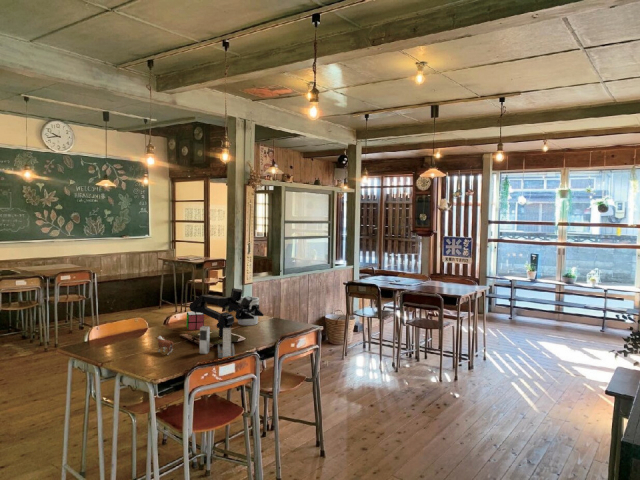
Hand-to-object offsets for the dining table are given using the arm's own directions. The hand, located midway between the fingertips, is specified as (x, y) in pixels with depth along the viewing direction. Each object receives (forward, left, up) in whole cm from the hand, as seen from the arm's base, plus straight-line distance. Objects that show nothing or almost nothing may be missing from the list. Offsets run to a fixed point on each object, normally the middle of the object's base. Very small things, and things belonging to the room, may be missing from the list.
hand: (258, 316), depth 274 cm
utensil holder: (-16, +50, -16) cm, 55 cm away
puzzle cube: (-47, +31, -16) cm, 58 cm away
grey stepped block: (-14, -21, -16) cm, 30 cm away
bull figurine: (-47, -24, -16) cm, 55 cm away
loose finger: (-26, -21, -16) cm, 37 cm away
